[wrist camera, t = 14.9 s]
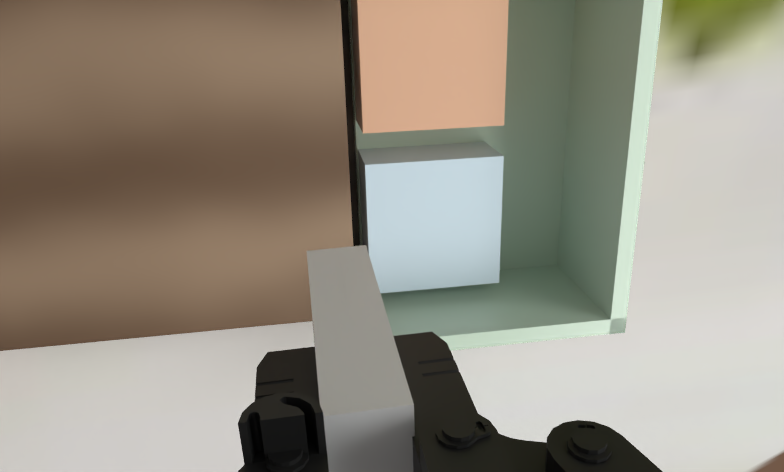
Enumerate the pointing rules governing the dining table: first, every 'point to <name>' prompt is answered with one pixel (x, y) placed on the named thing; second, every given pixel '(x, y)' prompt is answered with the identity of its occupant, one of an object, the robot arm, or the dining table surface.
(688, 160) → the dining table surface
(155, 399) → the dining table surface
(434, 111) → the tile terracotta
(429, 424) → the robot arm
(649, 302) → the dining table surface
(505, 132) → the tray
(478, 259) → the pale blue square block
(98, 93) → the board
